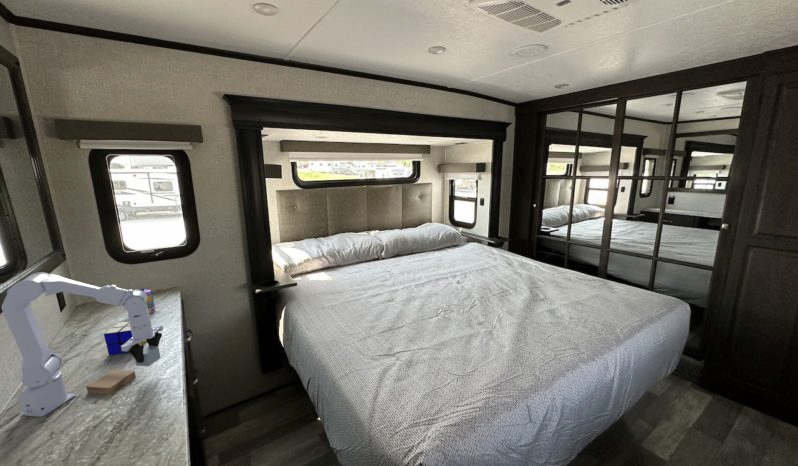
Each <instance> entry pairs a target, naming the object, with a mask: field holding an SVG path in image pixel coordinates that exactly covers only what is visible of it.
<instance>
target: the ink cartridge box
mask: <svg viewBox="0 0 798 466" xmlns="http://www.w3.org/2000/svg"><path fill="white" fill-rule="evenodd" d="M139 290H141V291H144V292H145V293H146V294H147V301H146V303H147V306H148V310H149V314H151V313H154V312H156V304H155V300H154V294H153V291H152V290H151V289H145V287H143V288H141V289H139Z"/></svg>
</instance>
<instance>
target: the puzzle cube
mask: <svg viewBox="0 0 798 466" xmlns="http://www.w3.org/2000/svg"><path fill="white" fill-rule="evenodd" d="M103 336H104V341H105V345H106V349H107V353H108V355H109V356H114V355H119V354H128V353H129V352H128V351H122V349H121V346H122V345H124V344H125V343H126V342H127V341H128V340H130V339H131V338H132V332H131V327H130V323H129V321H122V322H117V323H116V324H115V325H113V326H112V327H111V328H110V329H109V330H106V332H105V333H103ZM146 342H147V341H146V340H144V341H142V342H140V343H138V344H140V346H144V344H145V343H146Z"/></svg>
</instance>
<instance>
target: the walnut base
mask: <svg viewBox="0 0 798 466" xmlns="http://www.w3.org/2000/svg"><path fill="white" fill-rule="evenodd" d="M135 378H136V371H135V370H126V369H123V370H122V369H112V370H109V372H107V373H105V374H103V375H101V376H100V377H99V378H97V379H95V380H94V381H93V382H91V383H89V384H88V385H86V390H87V393H88V394H97V395H110V396H111V395H112V394H114V393H115V392H117V391H118V390H120V389H121V388H123V387H124V386H126V385H127V384H128V383H130V382H132V380H134V379H135Z"/></svg>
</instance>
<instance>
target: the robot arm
mask: <svg viewBox="0 0 798 466" xmlns="http://www.w3.org/2000/svg"><path fill="white" fill-rule="evenodd" d="M6 292H7V293H6V296H5V298H4V299H3V302H2V304H1V311H2V314H3V315H4V317H5V320H6V322H7V324H8V327H9V330H10V331H11V334H12V335H13V337H14V340H15V343H16V344H17V345H16V346H17V347H18V350H19V352H20V353H21V356H22V358H23V362H22V365H21V373H22V376H21V378H20V379H21V383H22V385H24V386H25V387H26V388H25V389H24V390H23V391H21V392H20V393H19V394H18V395H17V400H18V403H19V407H20V409H21V410H20V411H21V413H20V415H21V416H28V417H40V418H41V417H44V416H46V415H47V414H49V413H51V412H52V411H54V410H55V409H57V408H58V407H60V406H61V405H63V404H64V403H66V402H67V401H69V400H71V399H72V398H74V397H76V396H77V395H76V394H75V393H69V392H67V391H68V390H67V388H66V384H65V381H64V380H65V379H64V376H63V373H62V372H61V370H60V367H61V365H62V363H63V360H62V358H61V357H60V356H59V355H58V354H56V353H55V350H54V349H52V348H49V347H48V345H47V342H46V340H45V337H44V336H43V332H42V330H41V328H40V326H39V323H38V321H37V318H36V316H35V314H34V311H33V308H32V306H31V305H32V303H34V302H35V301H36V300H37V299H39V297H41V295H43V294H45V295H44V296H45V297H47V296H48V297H49V296H51V295H54V294H59V293H66V294H72V295H79V296H85V297H91V298H94V299H95V300H96V302H98V303H103V304H108V305H113V306H117V307H123V309H124V310H126V311H127V318H128V322H129V323H130V327H131V332H132V338H131V339H130V340H128V341H127V342H126V343H125V344H124V345H122V346H121V349H122V351H128V353H129V354H130V355H131V356H132V357H133V359H134V361H135V360H136V361H137V363H143V362H144V356H143V349H144V347H145V346H144V345H142V346H140V344H138V343H140V342H142V341H144V340H146V342H147V344H148V345H147V346H158V347H159V346H160V345H159V344H160V341H161V338H162V337H163V333H162V331H164V325H161V324H157V325H155V326H153V325H152V320H151V316H150V313H149V310H148V306H147V303H146V301H147V294H146V293H145V292H144V291H142V290H140V289H134V290H133V289H131V288H130V289H125V288H121V287H117V284H112V285H107V284H105V285H104V286H96V285H94V284H93V285H92V284H89V283H85V282H81V281H78V280H74V279H70V278H67V277H64V276H61V275H58V274H53V273H51V274H50V273H47V272H44V271H43V272H42V271H41V272H34V273H32V274H30V275H28V276H27V277H26V278H25V279H24V278H23V280H20V281H18V282H16V283H15V284H13V286H11V287H10V288H9V289H8V290H7V291H6Z"/></svg>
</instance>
